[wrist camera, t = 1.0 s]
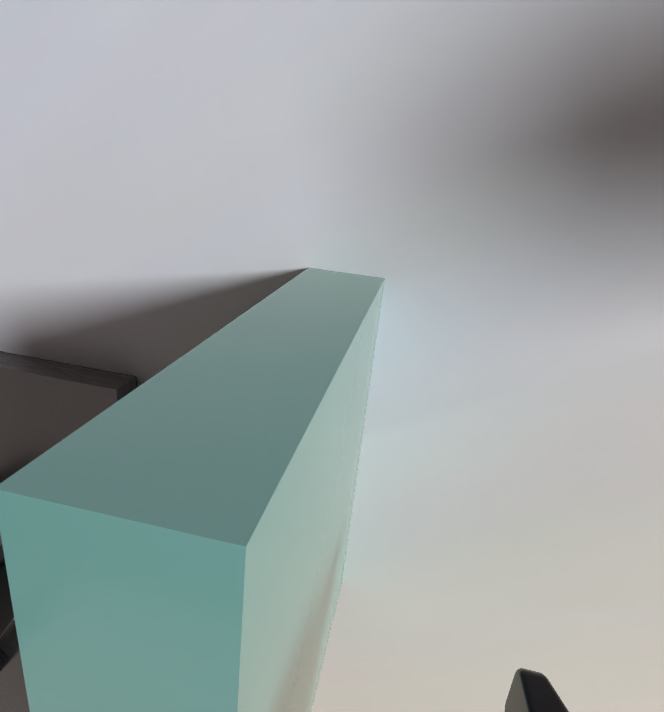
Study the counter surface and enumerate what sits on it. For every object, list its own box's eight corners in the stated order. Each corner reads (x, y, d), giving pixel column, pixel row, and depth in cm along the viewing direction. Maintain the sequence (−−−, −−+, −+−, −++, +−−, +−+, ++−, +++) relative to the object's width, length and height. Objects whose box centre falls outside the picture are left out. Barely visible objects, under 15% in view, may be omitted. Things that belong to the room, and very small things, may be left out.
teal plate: (341, 581, 16) (216, 1114, 7) (282, 567, 17) (87, 1061, 7) (384, 278, 13) (246, 546, 3) (308, 267, 13) (-8, 489, 4)
